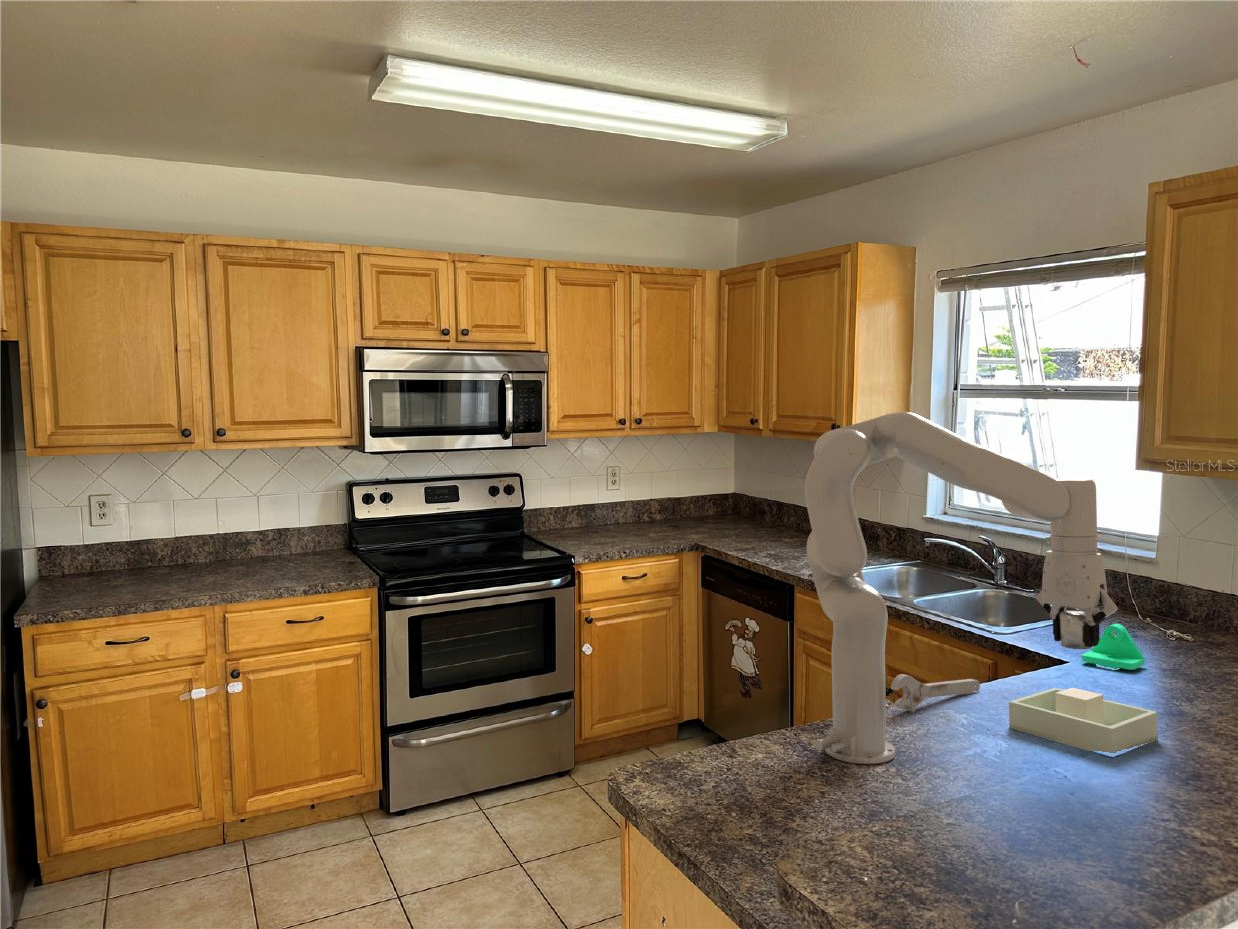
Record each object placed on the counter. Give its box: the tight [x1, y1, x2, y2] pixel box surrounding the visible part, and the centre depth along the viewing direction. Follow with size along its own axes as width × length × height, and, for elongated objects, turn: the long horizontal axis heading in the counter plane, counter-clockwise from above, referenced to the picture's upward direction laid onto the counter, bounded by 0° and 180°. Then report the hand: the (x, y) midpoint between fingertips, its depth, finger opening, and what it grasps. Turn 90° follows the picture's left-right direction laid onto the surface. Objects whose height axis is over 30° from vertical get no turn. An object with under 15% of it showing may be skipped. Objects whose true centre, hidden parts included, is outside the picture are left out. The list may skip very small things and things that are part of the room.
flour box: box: [1055, 687, 1104, 725], centre depth 164 cm, size 6×6×7 cm
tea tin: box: [1059, 610, 1093, 650], centre depth 156 cm, size 5×5×6 cm
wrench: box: [890, 673, 981, 713], centre depth 185 cm, size 8×2×30 cm
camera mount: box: [1081, 623, 1146, 671], centre depth 211 cm, size 12×8×10 cm, turn 39°
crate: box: [1008, 687, 1159, 753], centre depth 164 cm, size 16×20×5 cm
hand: (1076, 642), depth 156 cm, fingers closed on tea tin, 5 cm apart
